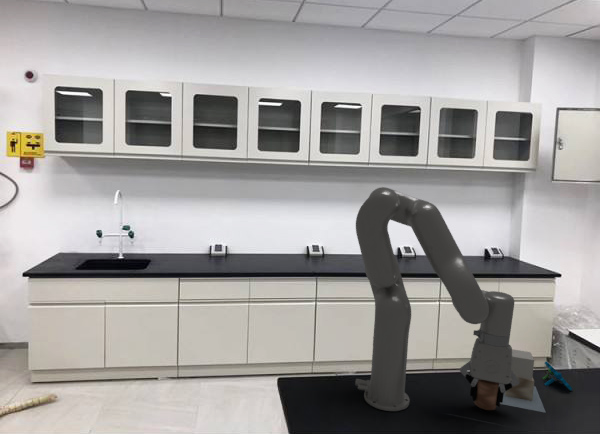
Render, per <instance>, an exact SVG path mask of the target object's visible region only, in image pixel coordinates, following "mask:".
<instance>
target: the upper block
mask: <svg viewBox="0 0 600 434" xmlns="http://www.w3.org/2000/svg"><path fill="white" fill-rule="evenodd" d="M534 365H535V359H534V357H533V354H532V352H531V351H525V350H518V349H513V348H512V371H513V373H514V374H515V375H516V377H517V378H523V379H529V380H532V377H533V375H534V367H535V366H534ZM533 378H534V377H533Z"/></svg>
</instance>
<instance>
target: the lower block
mask: <svg viewBox="0 0 600 434" xmlns="http://www.w3.org/2000/svg"><path fill="white" fill-rule="evenodd" d="M511 380H512V379H511ZM511 380H510V381H511ZM518 380H519V384H517V385H515V386H513V387H512V388H510V389H509V390H507V391H506V392H505V395H506V396H508V397H513V398H519V399H524V400H529V401H532V399H533V389H534V386H535V379H534V377H532V380H529V379H523V378H518Z"/></svg>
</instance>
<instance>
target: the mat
mask: <svg viewBox="0 0 600 434" xmlns="http://www.w3.org/2000/svg"><path fill="white" fill-rule="evenodd" d="M540 397H541V396H540V395H539V392H538V389H537V387H536V386H535V385H534V389H533V399H532V401H529V400H524V399H519V398H513V397H508V396H506V395H505V393H504V395H503V402H502V403H500V405H504V406H510V407H514V408H520V409H525V410H529V411H535V412H539V413H540V412H541V413H547V412H546V410H545V408H544V404H543V402H542V400H541V398H540Z"/></svg>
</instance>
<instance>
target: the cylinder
mask: <svg viewBox="0 0 600 434" xmlns="http://www.w3.org/2000/svg"><path fill="white" fill-rule="evenodd" d="M498 389H499V383H495V382H490V381H485V380H480V379H479V380H478V382H477V393H476V401H473V402H474V405H476V407H478V408H479V409H483V410H486V411H494V410H496V409H497V405H496V403H497V396H498Z"/></svg>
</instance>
